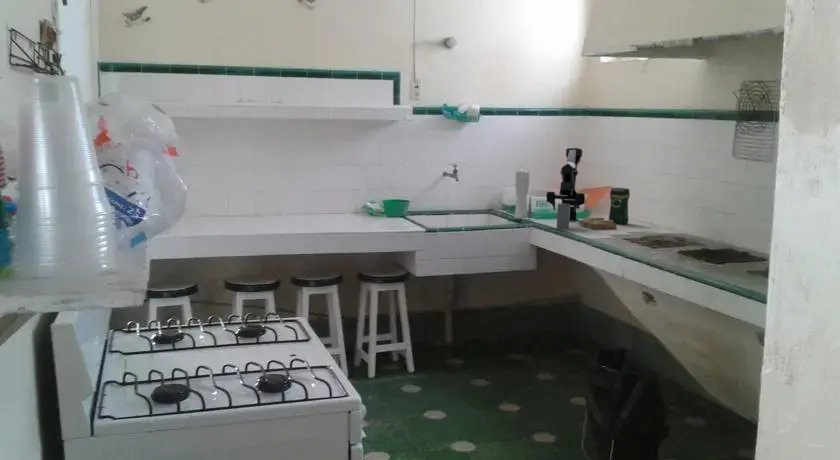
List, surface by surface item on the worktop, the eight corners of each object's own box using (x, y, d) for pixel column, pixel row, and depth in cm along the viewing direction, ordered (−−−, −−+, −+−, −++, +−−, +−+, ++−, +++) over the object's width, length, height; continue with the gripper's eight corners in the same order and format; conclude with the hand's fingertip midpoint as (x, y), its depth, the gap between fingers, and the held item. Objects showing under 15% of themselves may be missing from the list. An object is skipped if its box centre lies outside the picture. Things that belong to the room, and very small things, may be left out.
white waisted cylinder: (525, 221, 400) (527, 167, 396) (511, 219, 404) (513, 167, 400) (531, 219, 407) (533, 167, 403) (517, 218, 411) (519, 166, 407)
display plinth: (580, 225, 386) (580, 217, 386) (600, 224, 390) (601, 217, 389) (594, 229, 373) (595, 221, 372) (616, 229, 377) (616, 221, 376)
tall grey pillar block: (557, 227, 379) (558, 203, 377) (568, 227, 378) (570, 203, 376) (556, 228, 374) (557, 204, 373) (567, 229, 373) (569, 204, 371)
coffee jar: (630, 223, 397) (632, 188, 394) (623, 225, 391) (625, 189, 388) (613, 221, 403) (615, 186, 400) (606, 223, 397) (608, 187, 394)
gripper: (547, 175, 381) (543, 199, 372) (585, 177, 376) (582, 201, 367) (548, 189, 389) (545, 213, 381) (586, 191, 384) (583, 215, 375)
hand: (563, 210), depth 376 cm, fingers open, 9 cm apart
